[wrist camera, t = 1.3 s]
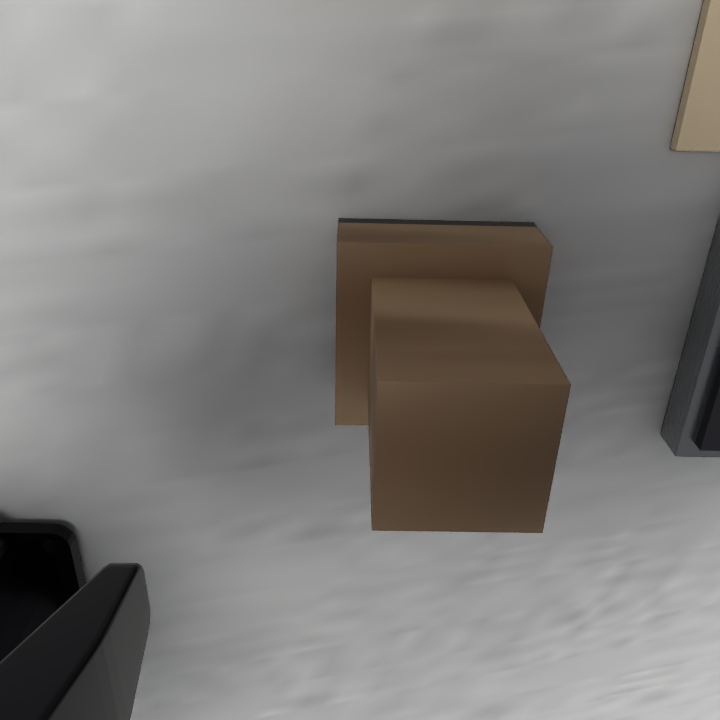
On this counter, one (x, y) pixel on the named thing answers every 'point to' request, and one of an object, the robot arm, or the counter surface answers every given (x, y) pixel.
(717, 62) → the card
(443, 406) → the stamp
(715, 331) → the ink pad
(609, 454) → the counter surface
